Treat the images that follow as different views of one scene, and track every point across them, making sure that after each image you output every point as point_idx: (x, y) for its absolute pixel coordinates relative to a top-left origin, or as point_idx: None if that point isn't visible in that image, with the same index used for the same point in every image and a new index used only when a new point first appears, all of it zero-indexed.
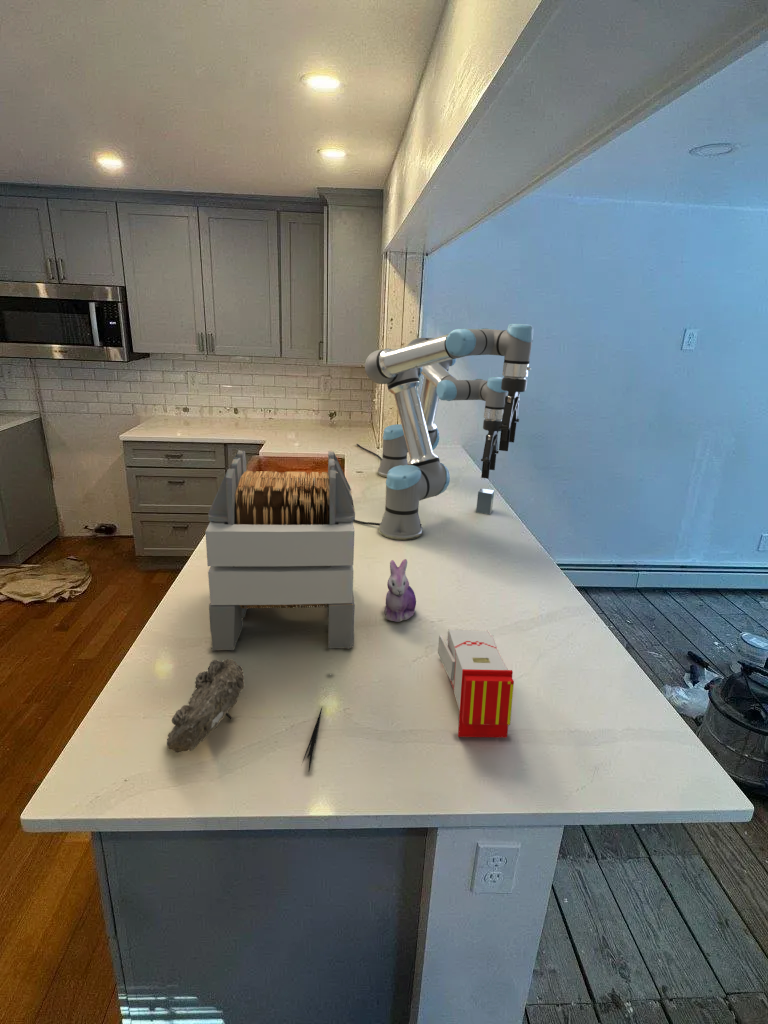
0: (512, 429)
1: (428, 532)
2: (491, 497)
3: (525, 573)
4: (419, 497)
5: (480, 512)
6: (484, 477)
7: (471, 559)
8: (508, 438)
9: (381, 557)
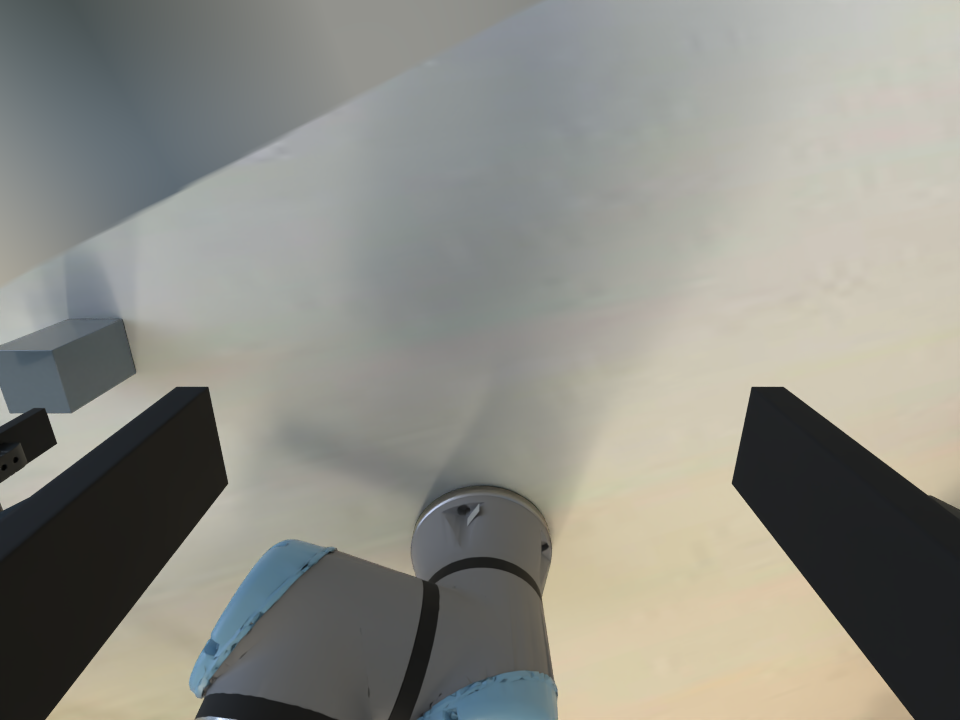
0: (97, 541)
1: (438, 472)
2: (65, 345)
3: (669, 81)
4: (476, 599)
5: (130, 357)
6: (48, 429)
7: (611, 295)
8: (909, 494)
9: (689, 532)
